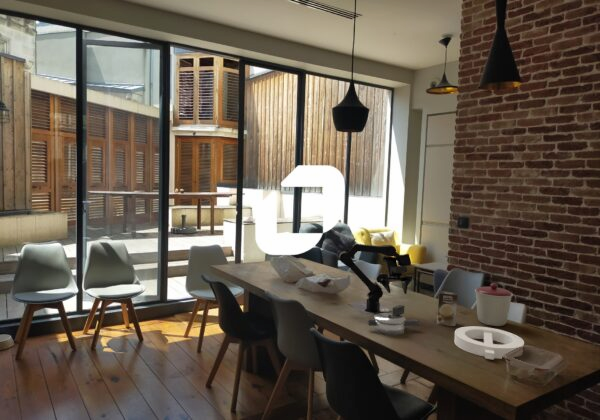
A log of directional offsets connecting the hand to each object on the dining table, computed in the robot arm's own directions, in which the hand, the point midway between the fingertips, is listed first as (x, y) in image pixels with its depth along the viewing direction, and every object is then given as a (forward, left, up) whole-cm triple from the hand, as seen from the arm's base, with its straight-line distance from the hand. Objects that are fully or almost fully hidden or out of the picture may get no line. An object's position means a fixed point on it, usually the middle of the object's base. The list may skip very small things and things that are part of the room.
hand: (397, 293), depth 230 cm
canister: (+38, +31, -13) cm, 50 cm away
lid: (+8, -18, -8) cm, 22 cm away
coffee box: (+22, +12, -13) cm, 28 cm away
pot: (+9, -19, -13) cm, 25 cm away
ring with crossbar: (+49, -5, -14) cm, 51 cm away
